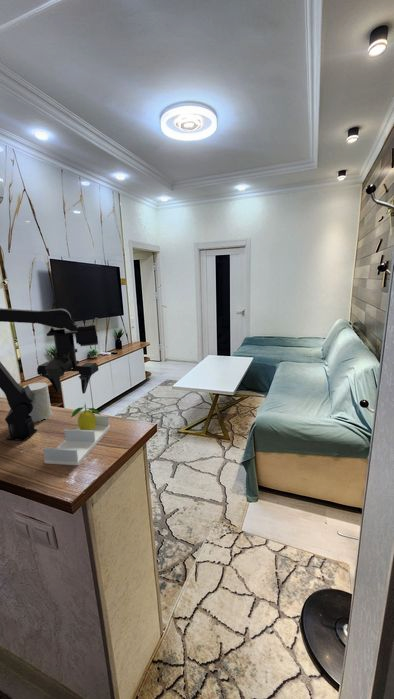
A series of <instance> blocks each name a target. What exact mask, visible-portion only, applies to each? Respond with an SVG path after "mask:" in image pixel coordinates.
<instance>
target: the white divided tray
mask: <svg viewBox="0 0 394 699" xmlns="http://www.w3.org/2000/svg"><path fill="white" fill-rule="evenodd" d="M94 415H95V417H96V426H95V428H94V429H93V430H80V428H79V426H78V427H77V428H75V429H66V428H65V429H63V432H64V438H65V439H64V441H63V442H61V443H60V444H59V445H58V446H57V447H43V456H44V459H43V460H44V461H43V462H44V464H49V465H50V464H53V465H66V466H80V464H81V463H82V462H83V461H84V460H85V459H86V457H87V456H88V455H89V454H90V453H91V451H92V450H93V449H94V448H95V446H96V445H97V444H98V443H99V442H100V441H101V439H103V437H104V436H105V435H106V434H107V432H108V431H110V429H111V424H110V421H109V415H102V414H101V415H100V414H94Z"/></svg>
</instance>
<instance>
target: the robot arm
mask: <svg viewBox="0 0 394 699" xmlns="http://www.w3.org/2000/svg"><path fill="white" fill-rule="evenodd" d="M0 322H1V323H2V322H4V323H23V324H24V323H25V324H39V325H43V326H47V327H50V329H49V331H48V332H46V336H47V337H53V341H54V347H55V352H53V355H52V356H53V358H52V359H51V360H50V361H47V362H46V361H45V362H44V363H41V364H39V365H38V366H37V368H36V373H37V375H40V376H41V377H43V378H46V379H47V380H48V381H49V382H50V383H51V385H52V387H53V388H54V390H55V392H56V393H57V394H59V393H60V392H61V377H64V374H65V373H68V372H78V374H79V376H78V379H80V382H81V383H80V384H81V392H82V393H81V394H83V395H84V394H85V393H86V391H87V388H88V386H89V382H90V379H91V378H92V375H95V373H96V372H98V371H99V365H98V363H96V362H85V363H83V364H81V365H79V364H80V363H79V362H80V360H77V355H76V353H78V348H75V347H76V346H75V343H76V344H77V345H79V346H80V347H88V346H98V345H99V338H98V333H97V328H96V324H88V325H78V324H77V323H76V322H75V321H74V320H73V318H72V316H71V313H70V312H69V311H68V310H67V309H66V308H52V309H43V310H33V309H32V310H30V309H16V308H15V309H14V308H1V307H0ZM55 328H56V329H55ZM67 330H68V331H67ZM74 335H75V339H74ZM26 385H27V386H26ZM26 385H25V386H26V387H24V386H22V385H21V384H19V383H18V382H17V381H16V379H15V378H14V377H13V376H12V374H11V373H10V372H9V370H8V369H7V368H6V367H5V366H4V364H3V363H2V362H1V361H0V389H1V391H2V392H3V394H4V395H5V398H6V401H7V403H8V404H7V405H8V406H9V408H10V409H9V411H8V413H7V415H6V416H5V419H4V420H5V422H6V423H7V425H8V426H7V427H8V432H9V435H8V436H7V437H6V440H7V441H8V440H9V441H10V440H11V441H26V440H27V439H29V437H31V436H32V435H34V434H35V433H37V431H38V429H37V428H35V424H34V423H35V422H33V421H32V417H31V416H29V414H30V413H31V412H32V410H33V407H34V404H35V397H34V396H35V393H33V392H32V391H31V390H30V388H29V386H28V385H29V384H26Z"/></svg>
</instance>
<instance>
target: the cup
mask: <svg viewBox="0 0 394 699" xmlns="http://www.w3.org/2000/svg"><path fill="white" fill-rule="evenodd" d="M27 385H28V386H29V388H30V390H31V391H32V392H33V393H35V396H34V397H35V404H34V407H33V410H32V412H31V413H30V414H29V416H31V417H32V421H33V423H38V422H37V421H39V422H42V421H41V420H43V419H45V418H48V417H50V416H51V415H53V413H52V406H51V400H50V393H49V392H50V391H49V386H48V383H47V382H33V383H29V384H26V385H24V386H23V387H26V386H27ZM51 417H52V416H51ZM51 417H50V418H51ZM48 419H49V418H48ZM43 421H44V420H43Z"/></svg>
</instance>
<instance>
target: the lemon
mask: <svg viewBox="0 0 394 699" xmlns="http://www.w3.org/2000/svg"><path fill="white" fill-rule="evenodd" d="M83 409H84V410H83ZM82 410H83V411H82ZM80 411H82V412H80ZM78 413H79V415H78V419H77V426H78V427H79V428H80V430H93V429H94V428H95V426H96V417H95V415H100V411H99V410H98V409H96V408H94V407H90V408H88V407H87V405H86V403H84V406H83V407H78V408H76V409H74V411H73V412H72V413H71V417H70V418H73V417H75V416H76V415H77V414H78Z"/></svg>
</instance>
